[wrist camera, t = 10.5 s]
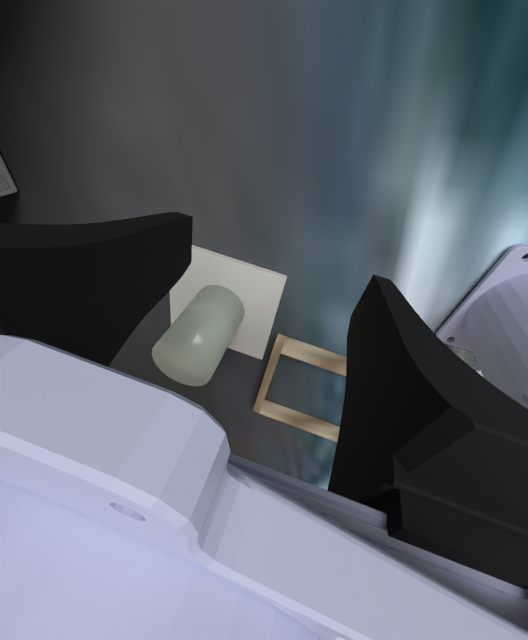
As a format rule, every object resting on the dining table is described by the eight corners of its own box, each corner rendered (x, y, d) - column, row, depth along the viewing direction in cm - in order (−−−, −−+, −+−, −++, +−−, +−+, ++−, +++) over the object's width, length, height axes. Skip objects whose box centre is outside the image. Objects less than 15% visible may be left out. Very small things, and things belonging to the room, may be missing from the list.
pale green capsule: (238, 344, 28) (208, 405, 22) (195, 329, 28) (155, 385, 23) (248, 294, 24) (213, 354, 18) (197, 278, 24) (149, 332, 19)
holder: (401, 375, 25) (402, 389, 24) (350, 434, 33) (349, 446, 32) (278, 333, 26) (274, 344, 25) (256, 400, 34) (252, 410, 33)
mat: (287, 275, 22) (286, 278, 22) (263, 357, 29) (262, 360, 28) (170, 237, 23) (167, 239, 22) (173, 325, 29) (171, 327, 29)
